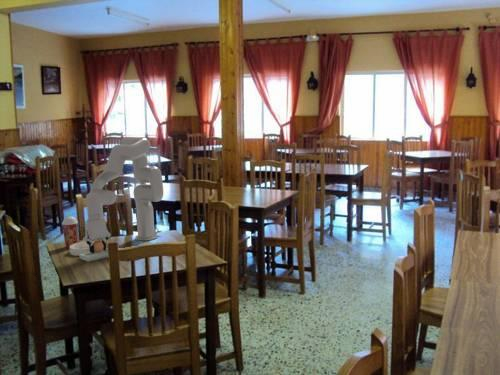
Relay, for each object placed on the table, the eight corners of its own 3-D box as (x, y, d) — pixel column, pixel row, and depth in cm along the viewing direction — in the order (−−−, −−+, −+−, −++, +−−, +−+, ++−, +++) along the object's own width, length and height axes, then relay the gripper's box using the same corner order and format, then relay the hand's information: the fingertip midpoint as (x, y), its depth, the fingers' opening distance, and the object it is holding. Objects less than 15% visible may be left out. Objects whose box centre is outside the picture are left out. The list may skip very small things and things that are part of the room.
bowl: (90, 246, 291) (90, 240, 291) (104, 251, 281) (104, 244, 280) (65, 252, 281) (64, 245, 280) (78, 257, 271) (77, 250, 270)
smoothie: (82, 244, 295) (79, 209, 292) (76, 248, 287) (73, 212, 284) (68, 244, 296) (65, 209, 293) (61, 248, 288) (58, 212, 285)
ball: (100, 250, 275) (99, 238, 274) (106, 252, 270) (105, 240, 269) (89, 252, 270) (89, 241, 269) (95, 254, 266) (94, 243, 265)
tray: (107, 251, 279) (107, 247, 279) (116, 255, 273) (116, 250, 273) (79, 258, 268) (79, 254, 268) (88, 261, 262) (87, 257, 262)
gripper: (107, 213, 276) (109, 246, 279) (76, 218, 264) (78, 253, 267) (114, 215, 271) (116, 249, 274) (83, 220, 259) (86, 256, 262)
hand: (98, 251), depth 270 cm, fingers closed on ball, 5 cm apart
